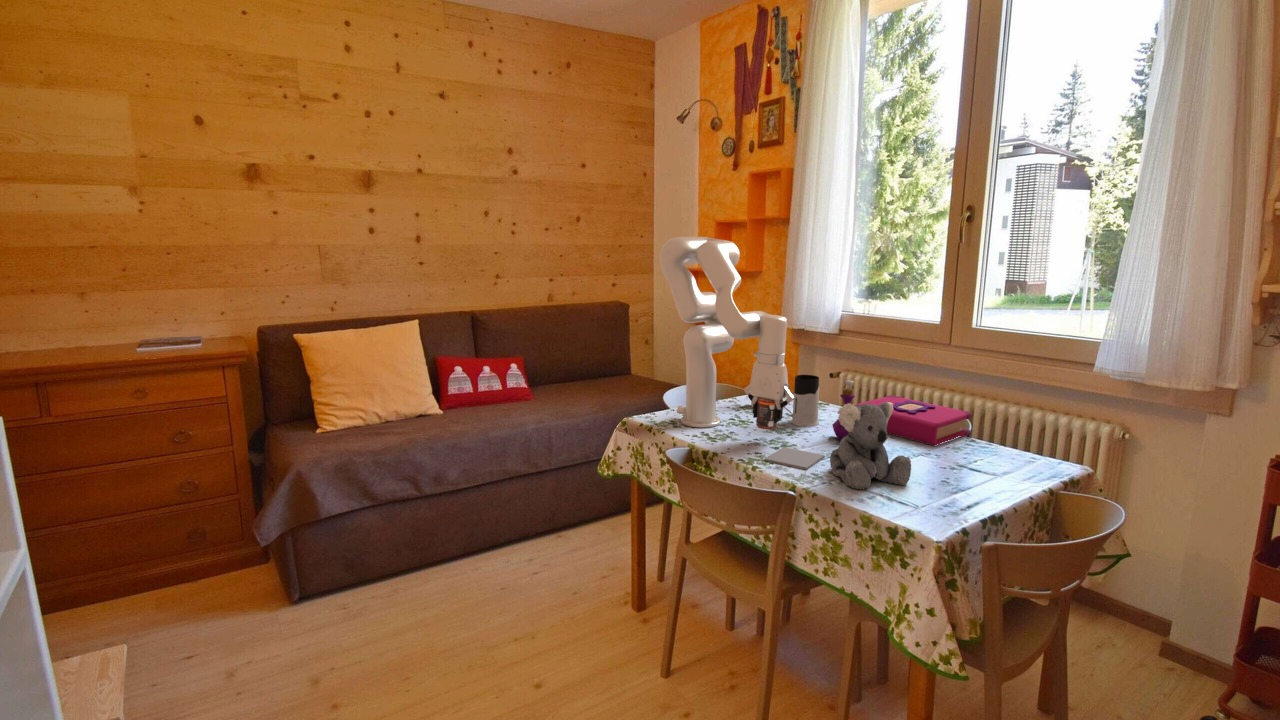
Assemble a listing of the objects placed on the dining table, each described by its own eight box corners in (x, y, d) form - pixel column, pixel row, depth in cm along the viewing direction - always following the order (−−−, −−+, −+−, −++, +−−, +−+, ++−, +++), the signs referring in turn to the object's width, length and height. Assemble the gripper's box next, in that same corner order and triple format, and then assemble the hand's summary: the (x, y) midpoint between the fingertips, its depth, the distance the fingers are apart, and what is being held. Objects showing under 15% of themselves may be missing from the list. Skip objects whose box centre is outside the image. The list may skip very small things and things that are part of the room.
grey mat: (764, 460, 179) (764, 458, 179) (783, 449, 188) (783, 447, 188) (807, 469, 172) (807, 467, 172) (824, 457, 181) (824, 455, 181)
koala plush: (853, 493, 157) (858, 413, 153) (813, 468, 173) (816, 395, 170) (915, 485, 161) (921, 407, 158) (870, 461, 178) (875, 390, 175)
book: (934, 448, 190) (936, 422, 188) (851, 425, 212) (852, 402, 211) (972, 435, 202) (974, 410, 201) (889, 415, 224) (891, 393, 223)
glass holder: (822, 426, 210) (824, 380, 207) (776, 426, 210) (778, 380, 207) (815, 418, 218) (817, 374, 216) (772, 418, 219) (773, 374, 216)
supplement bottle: (776, 431, 191) (779, 393, 188) (755, 429, 192) (758, 391, 189) (776, 424, 197) (779, 387, 194) (756, 423, 198) (758, 386, 195)
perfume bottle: (831, 434, 201) (834, 376, 198) (857, 436, 200) (861, 377, 196) (833, 442, 194) (836, 382, 191) (860, 444, 192) (864, 383, 189)
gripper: (737, 356, 192) (734, 416, 196) (793, 365, 182) (789, 428, 186) (750, 352, 198) (746, 410, 202) (804, 361, 188) (800, 422, 192)
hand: (766, 418), depth 194 cm, fingers closed on supplement bottle, 6 cm apart
